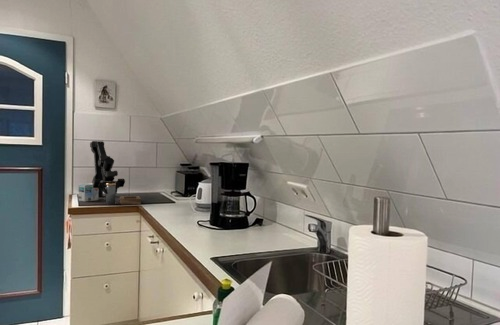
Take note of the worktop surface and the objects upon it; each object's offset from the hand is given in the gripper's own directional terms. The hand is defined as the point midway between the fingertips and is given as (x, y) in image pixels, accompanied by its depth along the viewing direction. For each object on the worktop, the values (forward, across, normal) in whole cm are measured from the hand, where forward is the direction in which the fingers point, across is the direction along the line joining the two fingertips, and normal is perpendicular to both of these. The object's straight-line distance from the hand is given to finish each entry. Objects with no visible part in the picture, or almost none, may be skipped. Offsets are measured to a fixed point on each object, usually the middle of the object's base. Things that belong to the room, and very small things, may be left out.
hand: (111, 193), depth 237 cm
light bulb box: (-9, -9, +19) cm, 23 cm away
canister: (+4, 0, +6) cm, 7 cm away
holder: (+3, +13, +7) cm, 14 cm away
